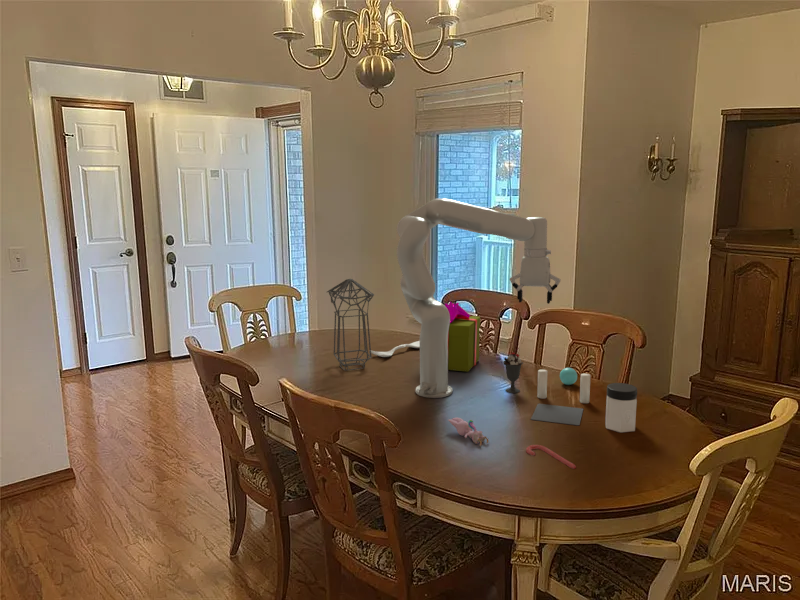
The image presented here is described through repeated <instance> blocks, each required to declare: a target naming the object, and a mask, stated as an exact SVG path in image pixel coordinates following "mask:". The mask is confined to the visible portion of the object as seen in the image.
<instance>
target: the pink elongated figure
mask: <svg viewBox="0 0 800 600" xmlns="http://www.w3.org/2000/svg"><path fill="white" fill-rule="evenodd" d="M447 421H448V422H450V424H451V425H452V426H453V427H454V428H455V429H456V431H457V434H459V435H460V436H463V437H464V438H465V439H466V438H468V437H469V438H470V439H471V440H472V442H473V444H475V445H478V444H479V447H481V446H482V445H483V444H482V443H483V442H485V440H486V442H485V443H486V444H487V445H488V444H489V443H490V441H489V437H488V438H487V436H484V434H483V431H481V430H477V427H476V426H475V424H474V421H473V419H469V421H468V422H467V421H465V420H464V419H462V418H461V417H453V418H451V419H450V418H449V419H447Z"/></svg>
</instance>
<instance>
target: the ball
mask: <svg viewBox="0 0 800 600" xmlns="http://www.w3.org/2000/svg"><path fill="white" fill-rule="evenodd" d="M559 379H560V381H561V383H562V384H564V385H567V386H570V385H573V384H575V383H576V382H577V380H578V373H577V371H576V369H574V368H572V367H565V368H563V369H562V370H561V371H560V372H559Z"/></svg>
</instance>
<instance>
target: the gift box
mask: <svg viewBox="0 0 800 600" xmlns="http://www.w3.org/2000/svg"><path fill="white" fill-rule="evenodd" d="M444 305H445V306H446V308H447V309H448V311H449V314H450V324H449V331H448V371H457V372H458V371H459V372H470V370H471V369H472V368H474V367H475V366H477V363H478V361H479V360H480V328H481V316H476V315H475V316H474V315H472V314H469V313H468V311H466V310H465V309H464V308H463V307H462V306H461V305H460V303H459V302H456V303H452V301H449V303H444Z"/></svg>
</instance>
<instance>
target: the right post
mask: <svg viewBox="0 0 800 600" xmlns="http://www.w3.org/2000/svg"><path fill="white" fill-rule="evenodd" d="M579 380H580V381H579V382H580V383H579V385H580V386H579V403H581V404H589V403H590V397H591V395H590V393H591V392H590V391H591V374H589V373H580V379H579Z"/></svg>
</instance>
